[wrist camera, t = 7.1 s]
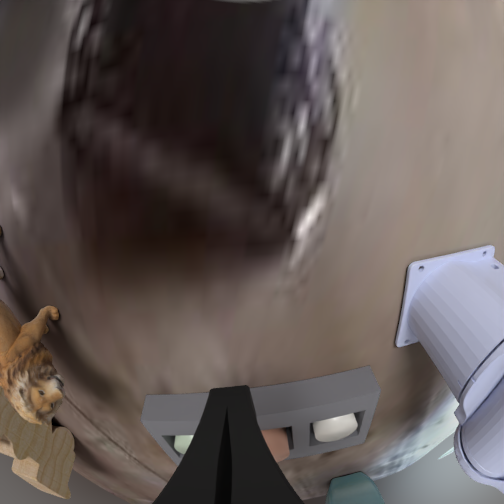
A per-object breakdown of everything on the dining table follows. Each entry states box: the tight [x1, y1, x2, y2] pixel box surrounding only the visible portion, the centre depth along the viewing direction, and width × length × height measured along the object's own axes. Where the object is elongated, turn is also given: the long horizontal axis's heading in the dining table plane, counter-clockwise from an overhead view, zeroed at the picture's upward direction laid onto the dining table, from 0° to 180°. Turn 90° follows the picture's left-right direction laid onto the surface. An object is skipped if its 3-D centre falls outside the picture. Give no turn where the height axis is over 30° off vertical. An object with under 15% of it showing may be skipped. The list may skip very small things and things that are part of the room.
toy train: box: [0, 386, 75, 499], centre depth 21 cm, size 6×17×10 cm, turn 14°
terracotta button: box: [261, 427, 290, 462], centre depth 22 cm, size 4×4×3 cm
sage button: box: [174, 435, 194, 454], centre depth 24 cm, size 4×4×3 cm
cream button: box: [312, 413, 358, 442], centre depth 24 cm, size 4×4×3 cm
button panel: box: [140, 365, 381, 466], centre depth 24 cm, size 20×10×3 cm, turn 98°
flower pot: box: [325, 472, 385, 504], centre depth 33 cm, size 9×9×9 cm
